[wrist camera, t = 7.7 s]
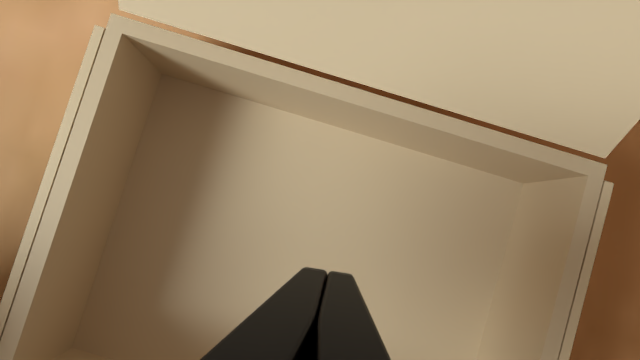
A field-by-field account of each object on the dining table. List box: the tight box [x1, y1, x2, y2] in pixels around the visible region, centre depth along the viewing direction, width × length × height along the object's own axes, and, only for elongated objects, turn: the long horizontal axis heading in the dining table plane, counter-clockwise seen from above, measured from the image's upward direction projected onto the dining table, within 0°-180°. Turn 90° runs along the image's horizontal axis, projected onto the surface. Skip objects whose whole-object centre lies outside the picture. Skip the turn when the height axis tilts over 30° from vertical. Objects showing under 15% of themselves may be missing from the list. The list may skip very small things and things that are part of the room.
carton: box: [0, 13, 614, 360], centre depth 18 cm, size 12×17×5 cm
